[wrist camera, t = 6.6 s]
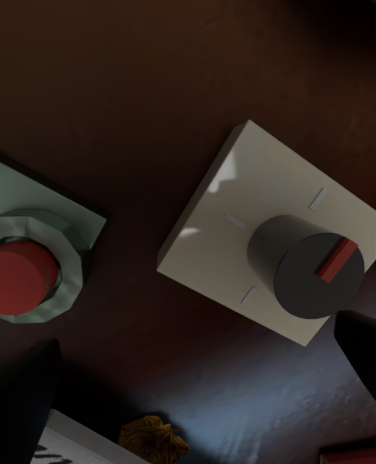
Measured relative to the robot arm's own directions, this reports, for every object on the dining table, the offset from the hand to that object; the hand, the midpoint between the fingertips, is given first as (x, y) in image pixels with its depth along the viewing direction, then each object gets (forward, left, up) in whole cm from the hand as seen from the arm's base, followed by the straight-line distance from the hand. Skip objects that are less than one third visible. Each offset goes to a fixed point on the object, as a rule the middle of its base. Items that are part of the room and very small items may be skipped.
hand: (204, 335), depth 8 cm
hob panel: (+5, +3, -10) cm, 12 cm away
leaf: (+7, -16, -12) cm, 21 cm away
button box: (-10, -4, -10) cm, 15 cm away
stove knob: (+5, +3, -7) cm, 9 cm away
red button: (-7, -5, -7) cm, 12 cm away
